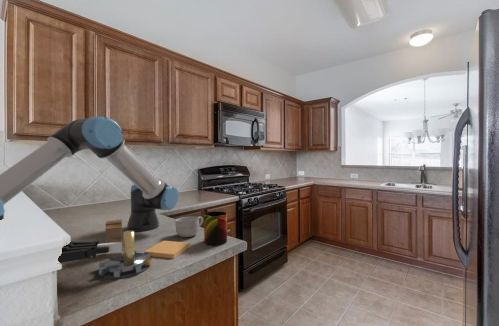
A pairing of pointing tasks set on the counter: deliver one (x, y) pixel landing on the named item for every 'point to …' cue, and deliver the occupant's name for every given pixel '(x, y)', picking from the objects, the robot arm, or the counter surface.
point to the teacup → (188, 226)
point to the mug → (215, 228)
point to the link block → (113, 233)
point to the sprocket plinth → (125, 274)
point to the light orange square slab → (168, 249)
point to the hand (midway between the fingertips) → (122, 247)
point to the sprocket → (125, 259)
